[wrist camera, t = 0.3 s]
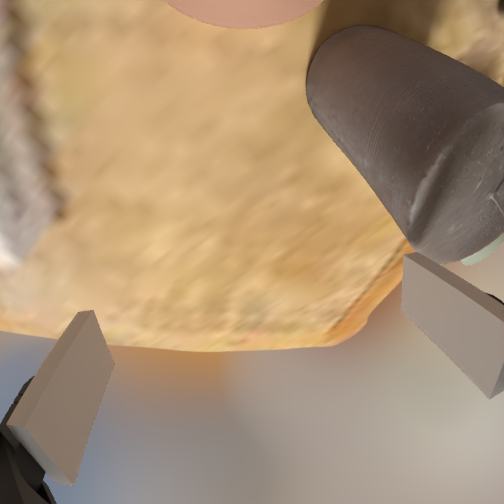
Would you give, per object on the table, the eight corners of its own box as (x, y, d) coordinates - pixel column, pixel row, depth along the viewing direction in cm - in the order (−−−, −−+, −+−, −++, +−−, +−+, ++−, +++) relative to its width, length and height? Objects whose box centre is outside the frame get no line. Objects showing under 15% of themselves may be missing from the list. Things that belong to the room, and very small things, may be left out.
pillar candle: (424, 107, 22) (548, 227, 13) (332, 156, 25) (428, 309, 15) (392, 6, 16) (576, 89, 6) (277, 58, 18) (411, 188, 8)
